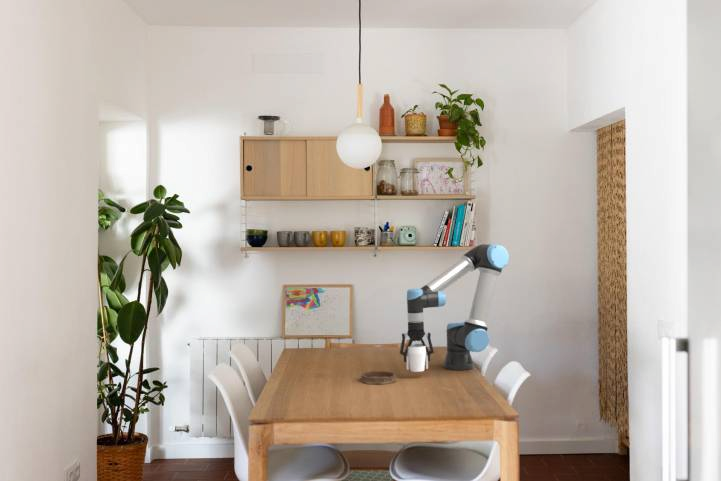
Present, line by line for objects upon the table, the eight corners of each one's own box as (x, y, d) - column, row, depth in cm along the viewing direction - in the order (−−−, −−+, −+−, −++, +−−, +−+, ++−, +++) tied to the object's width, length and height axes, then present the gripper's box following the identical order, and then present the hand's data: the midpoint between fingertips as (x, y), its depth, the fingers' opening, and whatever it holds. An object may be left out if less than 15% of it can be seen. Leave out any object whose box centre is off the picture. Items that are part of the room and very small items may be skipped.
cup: (425, 372, 313) (424, 347, 313) (406, 372, 315) (405, 347, 315) (427, 368, 322) (426, 343, 322) (409, 368, 324) (408, 343, 324)
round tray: (395, 376, 322) (395, 370, 322) (397, 384, 305) (397, 378, 305) (360, 376, 322) (360, 371, 322) (360, 384, 305) (360, 378, 305)
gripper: (437, 319, 322) (438, 366, 323) (392, 321, 322) (394, 367, 322) (439, 321, 315) (440, 369, 315) (393, 323, 314) (395, 371, 315)
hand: (417, 368), depth 319 cm, fingers closed on cup, 9 cm apart
